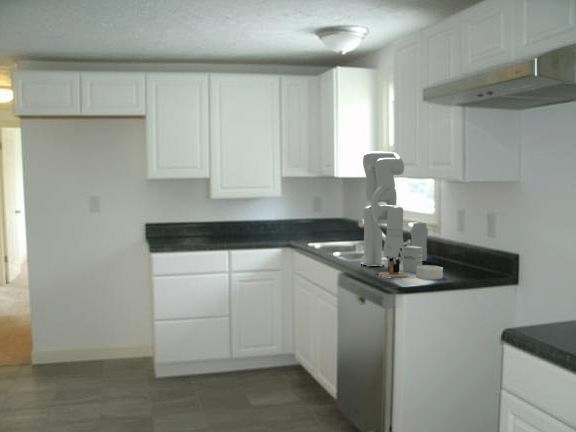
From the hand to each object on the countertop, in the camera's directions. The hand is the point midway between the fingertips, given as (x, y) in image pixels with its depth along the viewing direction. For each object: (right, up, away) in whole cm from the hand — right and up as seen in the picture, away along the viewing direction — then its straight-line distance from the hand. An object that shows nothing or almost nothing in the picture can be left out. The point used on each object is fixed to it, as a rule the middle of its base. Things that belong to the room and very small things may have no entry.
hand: (393, 271), depth 285 cm
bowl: (+17, -3, -2) cm, 17 cm away
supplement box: (+12, -2, +16) cm, 20 cm away
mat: (0, -3, 0) cm, 3 cm away
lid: (0, -2, 0) cm, 2 cm away
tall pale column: (+23, 0, +51) cm, 56 cm away
